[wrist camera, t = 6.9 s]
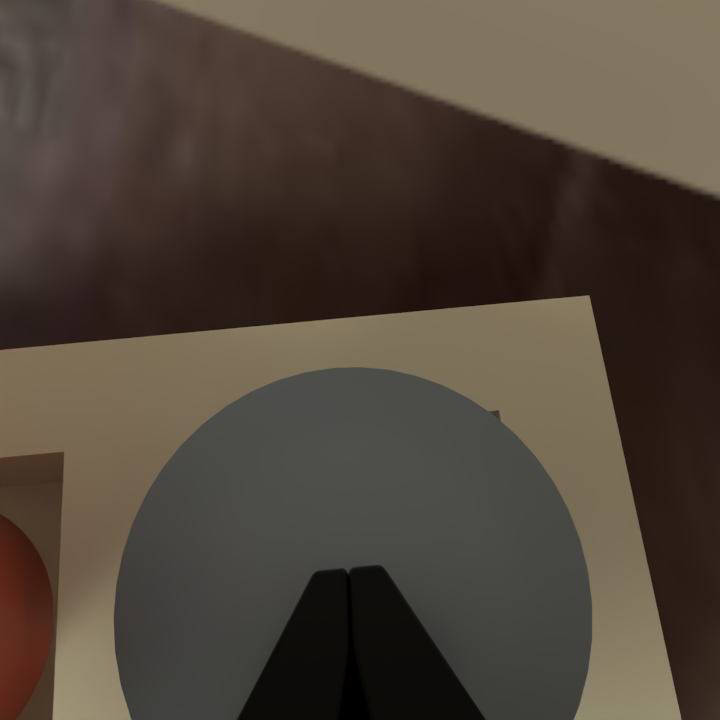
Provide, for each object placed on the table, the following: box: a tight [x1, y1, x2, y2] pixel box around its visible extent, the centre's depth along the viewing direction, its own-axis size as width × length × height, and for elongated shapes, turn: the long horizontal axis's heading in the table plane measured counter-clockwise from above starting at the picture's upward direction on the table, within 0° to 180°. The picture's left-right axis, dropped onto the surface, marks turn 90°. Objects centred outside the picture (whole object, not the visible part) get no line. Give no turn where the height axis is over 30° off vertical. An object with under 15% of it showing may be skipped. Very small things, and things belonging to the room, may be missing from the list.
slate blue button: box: [114, 367, 592, 720], centre depth 11 cm, size 6×6×6 cm
